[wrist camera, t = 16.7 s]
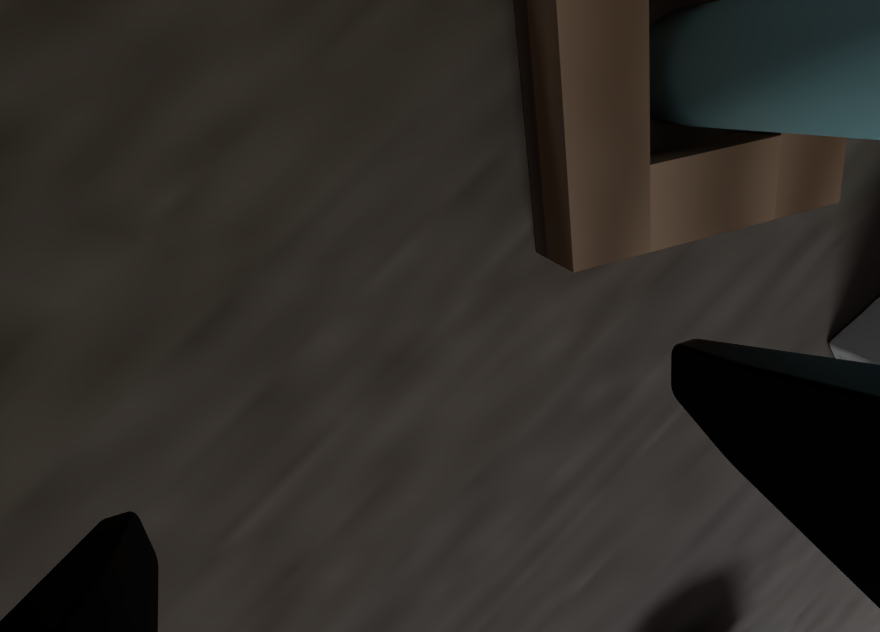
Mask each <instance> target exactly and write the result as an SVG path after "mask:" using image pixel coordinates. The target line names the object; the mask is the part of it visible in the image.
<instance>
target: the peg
mask: <svg viewBox="0 0 880 632" xmlns="http://www.w3.org/2000/svg"><path fill="white" fill-rule="evenodd" d="M649 81H650V116H651V117H652V118H653V119H655V120H656V121H658V122H661V123H663V124H668V125H681V126H695V127H708V128H722V129H736V130H750V131H763V132H777V133H791V134H805V135H818V136H832V137H846V138H860V139H873V140H880V0H719V1H714V2H709V3H704V4H699V5H694V6H689V7H684V8H679V9H675V10H673V11H671V12H669V13H667V14H665V15H664V16H662V17H661V18H660V19H659V20H657V21H656V22H655V23H654V24H653V26H652V27H651V28H650V29H649Z"/></svg>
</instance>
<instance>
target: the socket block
mask: <svg viewBox="0 0 880 632" xmlns="http://www.w3.org/2000/svg"><path fill="white" fill-rule="evenodd" d="M714 1H719V0H514V8H515V20H516V31H517V42H518V53H519V64H520V75H521V86H522V98H523V109H524V120H525V131H526V142H527V153H528V164H529V176H530V187H531V198H532V209H533V220H534V231H535V242H536V252H537V253H539V254H541V255H542V256H544V257H546V258H548V259H550V260H552V261H553V262H555V263H557V264H559V265H561V266H563V267H564V268H566V269H568V270H570V271H572V272H578V271H581V270H585V269H589V268H593V267H596V266H600V265H604V264H608V263H612V262H615V261H619V260H623V259H627V258H631V257H634V256H638V255H642V254H646V253H649V252H653V251H657V250H661V249H665V248H668V247H672V246H676V245H680V244H684V243H687V242H691V241H695V240H699V239H703V238H706V237H710V236H714V235H718V234H721V233H725V232H729V231H733V230H737V229H740V228H744V227H748V226H752V225H756V224H759V223H763V222H767V221H771V220H774V219H778V218H782V217H786V216H790V215H793V214H797V213H801V212H805V211H809V210H812V209H816V208H820V207H824V206H827V205H831V204H835V203H839V202H840V194H841V186H842V177H843V169H844V161H845V153H846V145H847V138H846V137H832V136H818V135H805V134H791V133H777V132H763V131H750V130H736V129H722V128H708V127H695V126H681V125H668V124H663V123H661V122H658V121H656V120H655V119H653V118H652V117H651V116H650V81H649V29H650V28H651V27H652V26H653V24H654V23H655V22H656V21H657V20H659V19H660V18H661V17H662V16H664V15H665V14H667V13H669V12H671V11H673V10H675V9H679V8H684V7H689V6H694V5H699V4H704V3H709V2H714Z"/></svg>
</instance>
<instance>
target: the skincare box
mask: <svg viewBox="0 0 880 632" xmlns="http://www.w3.org/2000/svg"><path fill="white" fill-rule="evenodd" d="M829 345H830V348H831V350H832V352H833V355H834V357H835V358H836V359H843V360H850V361H857V362H864V363H871V364H878V365H880V297H879V298H878V299H876V300H875V301H874V302H873V303H872V304H871V305H870V306H869V307H868V308H867V309H866V310H865V311H864V312H863V313H861V314H860V315H859V316H858V317H857V318H856V319H855V320H854V321H852V322H851V323H850V324H849V325H848V326H847V327H846V328H845V329H843V330H842V331H841V332H840V333H839V334H838V335H837V336H836V337H835V338H834V339H832V340H831V342H830V343H829Z"/></svg>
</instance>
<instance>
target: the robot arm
mask: <svg viewBox="0 0 880 632" xmlns="http://www.w3.org/2000/svg"><path fill="white" fill-rule="evenodd" d="M671 387H672V391H673V394H674V396H675V397H676V399H677V400H678V402H679V403H680V404H681V405H682V406H683V407H684V409H685V410H686V411H687V412H688V413H689V415H690V416H691V417H692V418H693V419H694V421H695V422H696V423H697V424H698V425H699V426H700V428H701V429H702V430H703V431H704V432H705V434H706V435H707V436H708V437H709V438H710V440H711V441H712V442H713V443H714V444H715V445H716V447H717V448H718V449H719V450H720V451H721V452H722V454H723V455H724V456H725V457H726V458H727V459H728V460H729V461H730V463H731V464H732V465H733V466H734V467H735V468H736V469H737V470H738V471H739V472H740V473H741V474H742V475H743V476H744V477H745V478H746V479H747V480H748V481H750V482H751V483H752V484H753V485H754V486H755V487H756V488H757V489H758V490H759V491H760V492H761V493H762V494H763V495H764V496H765V497H766V498H767V499H768V500H769V501H770V502H771V503H772V504H773V505H774V506H775V507H776V508H777V509H778V510H779V511H780V512H781V513H782V514H783V515H784V516H785V517H786V518H787V519H788V520H789V521H791V522H792V523H793V524H794V525H795V526H796V527H797V528H798V529H799V530H800V531H801V532H802V533H803V534H804V535H805V536H806V537H807V538H808V539H809V540H810V541H811V542H812V543H813V544H814V545H815V546H816V547H817V548H818V549H819V550H820V551H821V552H822V553H823V554H824V555H825V556H826V557H827V558H828V559H829V560H831V561H832V562H833V563H834V564H835V565H836V566H837V567H838V568H839V569H840V570H841V571H842V572H843V573H844V574H845V575H846V576H847V577H848V578H849V579H850V580H851V581H852V582H853V583H854V584H855V585H856V586H857V587H858V588H859V589H860V590H861V591H862V592H863V593H864V594H865V595H866V596H867V597H868V598H869V599H871V600H872V601H873V602H874V603H875V604H876V605H877V606H878V607H879V608H880V365H878V364H871V363H864V362H857V361H850V360H843V359H836V358H829V357H822V356H815V355H808V354H801V353H794V352H787V351H780V350H773V349H766V348H759V347H752V346H745V345H738V344H731V343H724V342H716V341H709V340H702V339H692V340H689V341H685V342H682V343H679V344H677V345H675V346H674V348H673V350H672V355H671ZM0 632H158V561H157V557H156V553H155V551H154V549H153V547H152V544H151V542H150V540H149V538H148V536H147V534H146V531H145V529H144V527H143V525H142V523H141V521H140V519H139V517H138V516H137V515H136V513H134V512H131V511H130V512H125V513H122V514H119V515H115V516H112V517H109V518H106V519H104V520H102V521H101V522H99V523H98V524H97V525H96V526H95V527H94V528H93V529H92V530H91V531H90V532H89V533H88V534H87V535H86V536H85V537H84V538H83V539H82V540H81V541H80V542H79V543H78V544H77V545H76V546H75V547H74V548H73V549H72V550H71V551H70V552H69V553H68V554H67V555H66V556H65V557H64V558H63V559H62V560H61V561H60V562H59V563H58V564H57V565H56V566H55V567H54V568H53V569H52V570H51V571H50V572H49V573H48V574H47V575H46V576H45V577H44V578H43V579H42V580H41V581H40V582H39V583H38V584H37V585H36V586H35V587H34V588H33V589H32V590H31V591H30V592H29V593H28V594H27V595H26V596H25V597H24V598H23V599H22V600H21V601H20V602H19V603H18V604H17V605H16V606H15V607H14V608H13V609H12V610H11V611H10V612H9V613H8V614H7V615H6V616H5V617H4V618H3V619H2V620H1V621H0Z"/></svg>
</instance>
